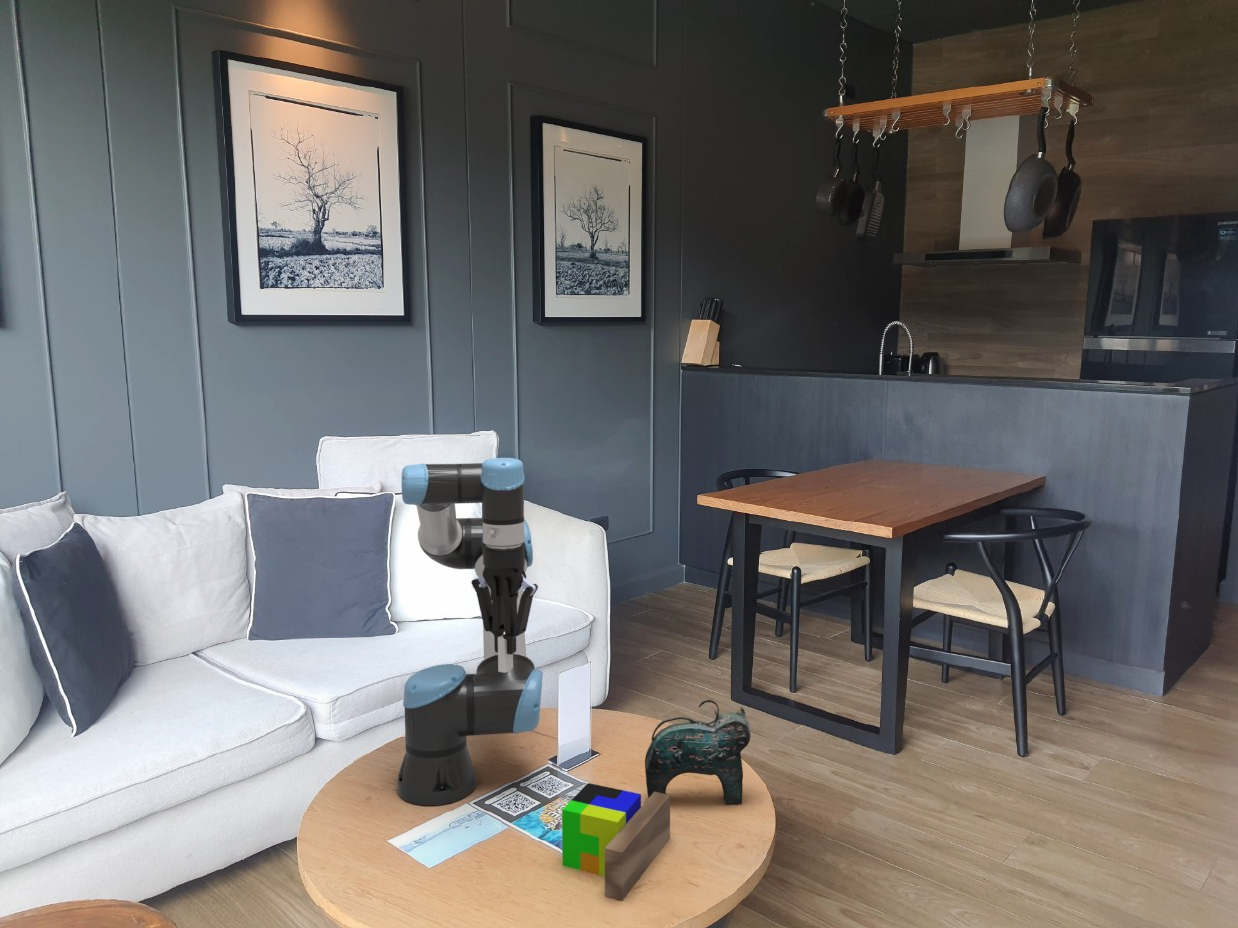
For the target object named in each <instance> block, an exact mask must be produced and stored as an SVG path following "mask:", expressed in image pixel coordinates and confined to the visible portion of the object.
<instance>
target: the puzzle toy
mask: <svg viewBox="0 0 1238 928" xmlns="http://www.w3.org/2000/svg"><path fill="white" fill-rule="evenodd" d="M641 806H642V794H641V793H637V792H633V791H628V790H625V789H624V790H623V789H619V788H615V787H608V786H604V785H600V784H596V783H595V784H594V783H590V782H587V784H585V786H583V787H582V788H581V790H580V791H578V793H577V794H576V795H575V796H574V797H573V798H572V799H571V800H570V801H569V802H568V803H567V804H566V805H565V806H563V808H562V809H561V826H562V828H561V832H562V833H561V834H562V835H561V836H562V839H561V845H562V848H561V849H562V850H561V851H562V854H561V855H562V858H561V859H562V867H565V868H571V869H574V870H578V871H582V872H586V873H589V874H594V875H596V876H597V875H598V876H600V877H601V876H602V877H605V847H606V846H607V845H608V844H609V843H610V842H611V841H612V839H613V838H614V837H615V836H616V835H617V834H618V833H619V831H620V830H621V829H622V828H623V827H624V826H625V825H626V823H627V822H628V821H629V820H630V819H631V818H632V817H633V815H634V814H635V813H636V812H637V811H638V810H639V809H640V807H641Z"/></svg>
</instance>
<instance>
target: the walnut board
mask: <svg viewBox="0 0 1238 928" xmlns="http://www.w3.org/2000/svg"><path fill="white" fill-rule="evenodd" d="M670 839H671V795H670V794H668V793H666V794H663V793H659V792H654V793H653V794H652V795H651V796H650V797H649V798H648V797H647V799H646V800H645V802H644V803H643V804H641V807H640V809H639V810H638V811H637V812H636V813H635V814H634V815H633V817H632V818H631V819H630V820H629V821H628V822H627V823H626V825H625V826H624V827H623V828H622V829H621V830H620V831H619V833H618V834H617V835H616V836H615V837H614V838H613V839H612V841H611V842H610V843H609V844H608V845H607V846H606V847H605V876H604V897H607V898H611V899H615V900H619V901H624V899H625V898H626V896H627V895H629V893H630V892H631V890H632V888H633V887H634V886H635V885H636V883H637V882H638V881H639V880H640V878H641V877H642V876H643V874H644V873H645V871H646V870H647V869H648V867H649V866H650V865H651V864H652V862H653V861H654V860H655V858H656V857H657V856H658V854H659V853H660V852H661V850H662V849H663V848H664V846H666V844H667V843H668V842H669V840H670Z"/></svg>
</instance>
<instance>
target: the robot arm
mask: <svg viewBox="0 0 1238 928" xmlns="http://www.w3.org/2000/svg"><path fill="white" fill-rule="evenodd" d="M525 478H526V477H525V473H524V464H523V462H522V461H521V459H518V458H513V457H493V458H489V459H485V460H484V461H483V462H481V463H479V462H478V463H475V462H474V463H473V462H471V463H469V462H468V463H419V464H410V465H409V464H407V465H406V466H404V467H403V468H402V471H401V498H402V502H403V503H404V504H405V505H412V506H416V510H417V515H418V521H419V527H418V531H417V539H418V544H419V546H420V548H421V550H422V551H423V552H424V554H425V555H426V556H427V557H429V558H430V559H431V560H433V561H434V562H435V563H438V564H439V565H442V566H444V567H447V568H450V569H455V570H474V572H475V574H476V576H477V577H476V578H473V579H472V580H471V582H470V583H471V586H472V587H473V589H474V591H475V593H476V597H477V602H478V605H479V611H480V615H481V619H482V634H483V637H482V638H483V660H481V661H480V662H479V663H478V665H477V667H476V673H467V671H466V670H465V668H464V667H463V666H462V665H459V664H452V663H444V664H438V665H432V666H429V667H426V668H423V669H421V670H418V671H417V672H415V673H413V674H412V675H410V677H408V679H407V680H406V682H405V683H404V690H403V691H404V693H403V701H402V705H403V708H404V732H405V733H404V735H405V736H404V739H405V752H404V756H403V759H402V763H401V765H400V766H401V767H400V769H399V773H398V776H397V780H396V781H397V783H396V785H397V793H398V796H399V798H401V799H403V800H404V801H406V802H408V803H411V804H414V805H419V806H441V805H446V804H451V803H454V802H457V801H460V800H462V799H464V798H467V796H469V795H470V794H472V792H474V791H475V789H476V787H477V770H476V768H475V766H474V764H473V761H472V758H471V754H470V752H469V749H468V746H467V737H469V736H472V737H473V736H488V735H502V734H514V735H515V734H517V735H518V734H519V733H527V732H533V731H535V730H536V729H537V728H538V726H539V724H540V716H541V701H542V689H543V674H544V673H543V671H542V670H540V669H538V668H537V669H536V668H535V663H534V662H533V660H532V659H531V658H529V657H528V656H527V649H526V648H527V647H526V631H527V627H528V623H529V617H530V613H531V609H532V603H533V598H534V595H535V594H536V592H537V591H538V588H539V585H538V584H537V583H533V584H532V583H531V582H530V581H529V580H528V579H527V574H526V572H527V569H528V567H531V566H532V564H533V561H534V550H533V549H534V548H533V544H532V535H531V530H530V527H529V524H528V522H527V520H526V519H525V481H526V480H525ZM456 504H481V505H482V506H481V507H482V508H481V509H482V517H466V518H465V517H459V518H457V512H456Z"/></svg>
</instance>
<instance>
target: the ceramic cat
mask: <svg viewBox="0 0 1238 928" xmlns="http://www.w3.org/2000/svg"><path fill="white" fill-rule="evenodd" d="M706 703H712V704H714V705H715V706H716V707H717V709H715V710H714V715H715V718H714V720H713V721H710V722H706V721H702V720H695V719H692V718H689V717H683V716H678V717H671V718H668V719H664V720H662V721H660V722H659V723H658V724H657V725H656V727H655V729H654V730H653V733H652V736H651V738H650V739H651V742H650V745H649V746H648V748H647V751H646V754H645V758H644V771H645V772H644V773H645V784H646V791H647V796H648V797H647V799H648V798H649V797H650V796H651V795H652V794H653V793H654V792H659V793H663V794H667V787H668V785H669V784H670V782H671V781H672V780H673V779H674V778H676V777H678V776H680V775H684V774H697V775H705V776H716V778H718V779H719V781H720V784H721V787H722V796H723V802H724V803H725V806H726V805H727V806H730V805H742V804H743V792H744V790H743V789H744V788H743V786H744V784H743V781H744V779H743V778H744V770H743V769H744V768H743V762H742V755H741V753H742V751H743V750H744V749H745V748H746V747H747V746H748V745H749V743H750V741H751V727H750V721H749V720H748V718H747V716H746V715H747V714H746V712H745V709H744V708H743V707H742V706H741V707H740V708H739V709H738V710H737V712H726V713H722V712H720V709H719V705H718V703H717V702H715V701H714V700H712V699H705V700H702V701H701V702H700V703H699V705H698V707H699V708H701V707H702V706H703V705H704V704H706ZM677 720H685V721H683V722H679V723H672V724H669V725H667V726H666V727H664V728H662V729H660V730H659V728H660V727H662V725H664V724H666V723H669V722H674V721H677ZM658 730H659V731H658ZM657 731H658V732H657ZM656 732H657V733H656Z"/></svg>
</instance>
